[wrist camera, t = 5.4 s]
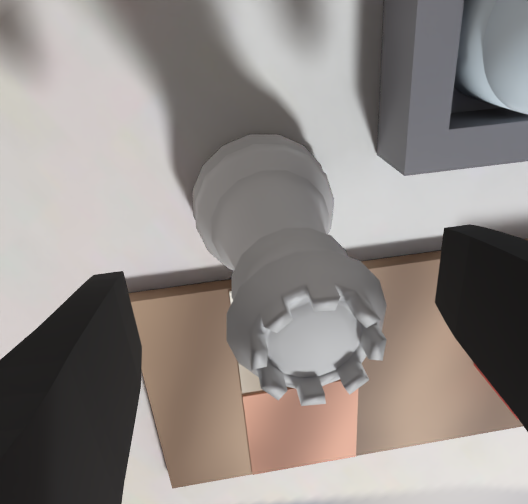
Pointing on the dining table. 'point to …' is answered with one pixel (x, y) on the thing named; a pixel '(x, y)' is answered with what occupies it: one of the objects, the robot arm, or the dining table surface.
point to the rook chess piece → (287, 269)
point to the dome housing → (436, 97)
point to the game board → (288, 407)
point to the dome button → (494, 53)
